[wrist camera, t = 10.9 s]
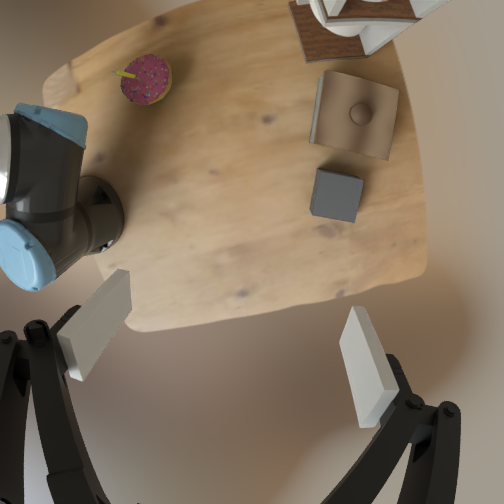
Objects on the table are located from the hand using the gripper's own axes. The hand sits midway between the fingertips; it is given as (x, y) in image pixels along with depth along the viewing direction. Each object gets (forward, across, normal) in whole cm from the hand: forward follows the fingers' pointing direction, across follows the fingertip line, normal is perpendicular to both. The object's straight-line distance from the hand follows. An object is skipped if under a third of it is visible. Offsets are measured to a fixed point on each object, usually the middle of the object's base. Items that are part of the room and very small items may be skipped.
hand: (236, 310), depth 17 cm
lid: (+30, +12, +15) cm, 35 cm away
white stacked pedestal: (+35, +7, +30) cm, 47 cm away
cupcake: (+35, -20, +17) cm, 44 cm away
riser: (+35, +12, +2) cm, 37 cm away
